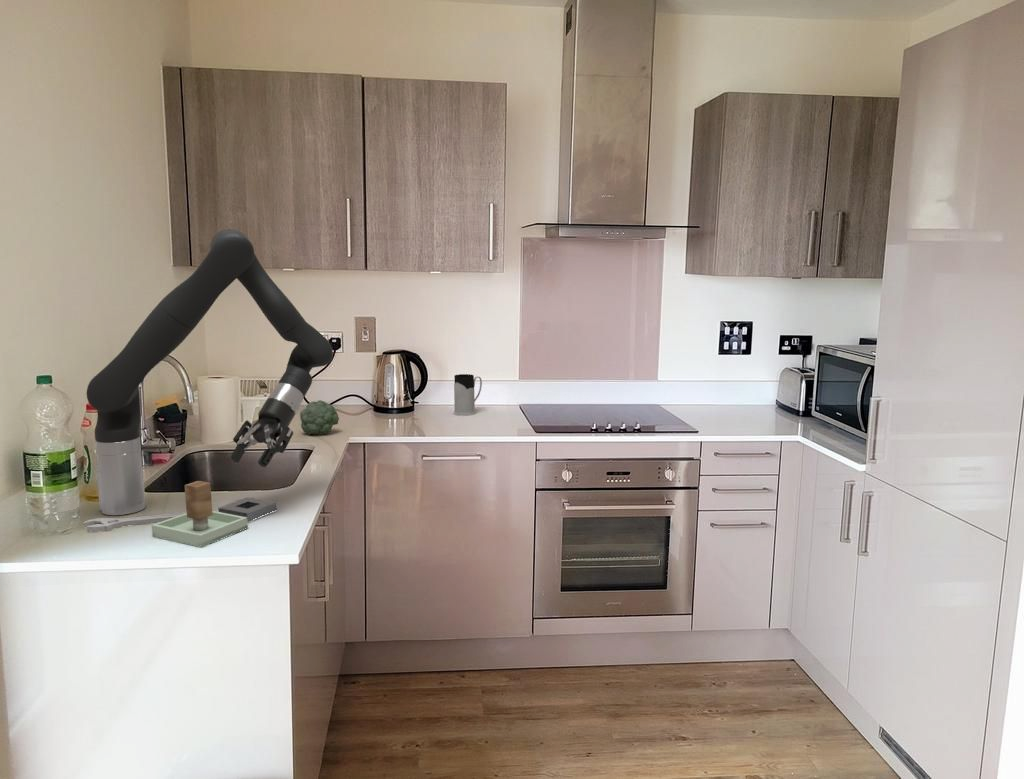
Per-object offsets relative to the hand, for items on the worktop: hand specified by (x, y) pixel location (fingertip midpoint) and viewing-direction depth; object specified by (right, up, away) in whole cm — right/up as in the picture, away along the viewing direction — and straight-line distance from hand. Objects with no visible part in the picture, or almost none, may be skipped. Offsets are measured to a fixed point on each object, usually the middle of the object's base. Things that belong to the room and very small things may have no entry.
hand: (247, 463), depth 173 cm
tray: (-6, -14, -11) cm, 19 cm away
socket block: (0, -12, +1) cm, 12 cm away
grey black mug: (+44, +8, +123) cm, 131 cm away
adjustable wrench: (-21, -14, -5) cm, 26 cm away
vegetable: (-6, +2, +88) cm, 88 cm away
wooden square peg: (-6, -13, -11) cm, 18 cm away
